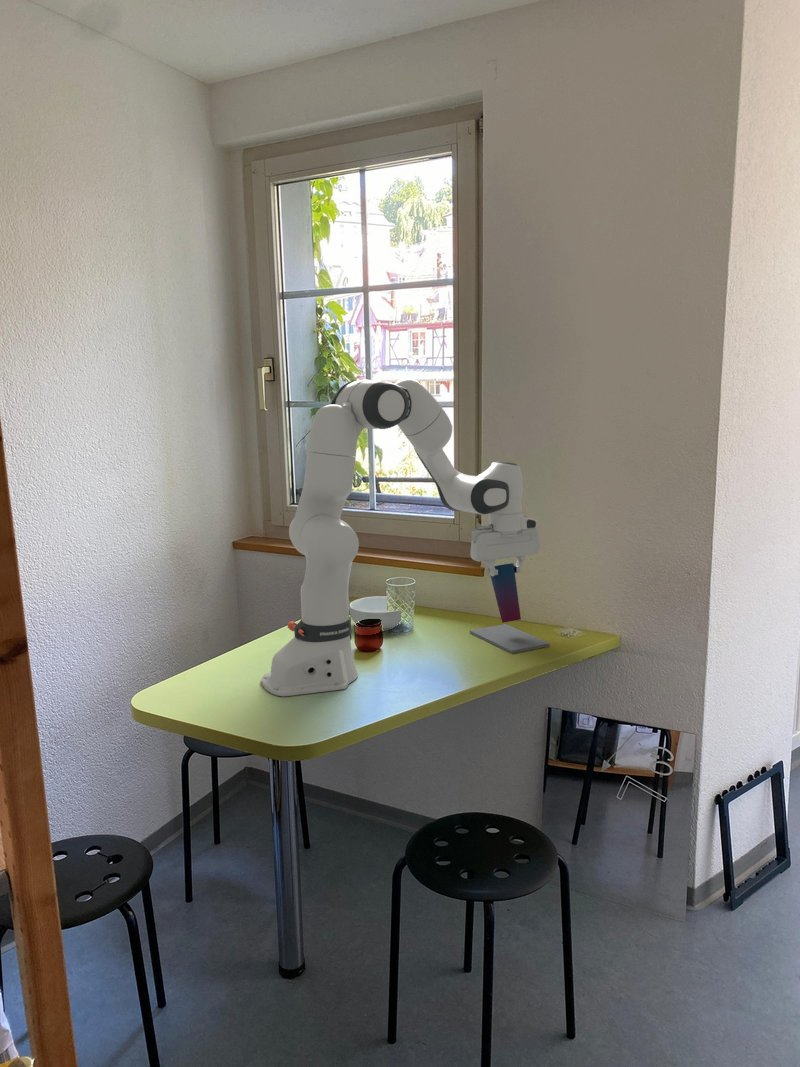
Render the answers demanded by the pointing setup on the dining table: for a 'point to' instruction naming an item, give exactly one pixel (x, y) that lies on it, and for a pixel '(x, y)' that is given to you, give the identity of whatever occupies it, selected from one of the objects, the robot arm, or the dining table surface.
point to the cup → (506, 592)
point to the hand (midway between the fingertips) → (505, 573)
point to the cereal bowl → (374, 611)
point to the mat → (509, 638)
